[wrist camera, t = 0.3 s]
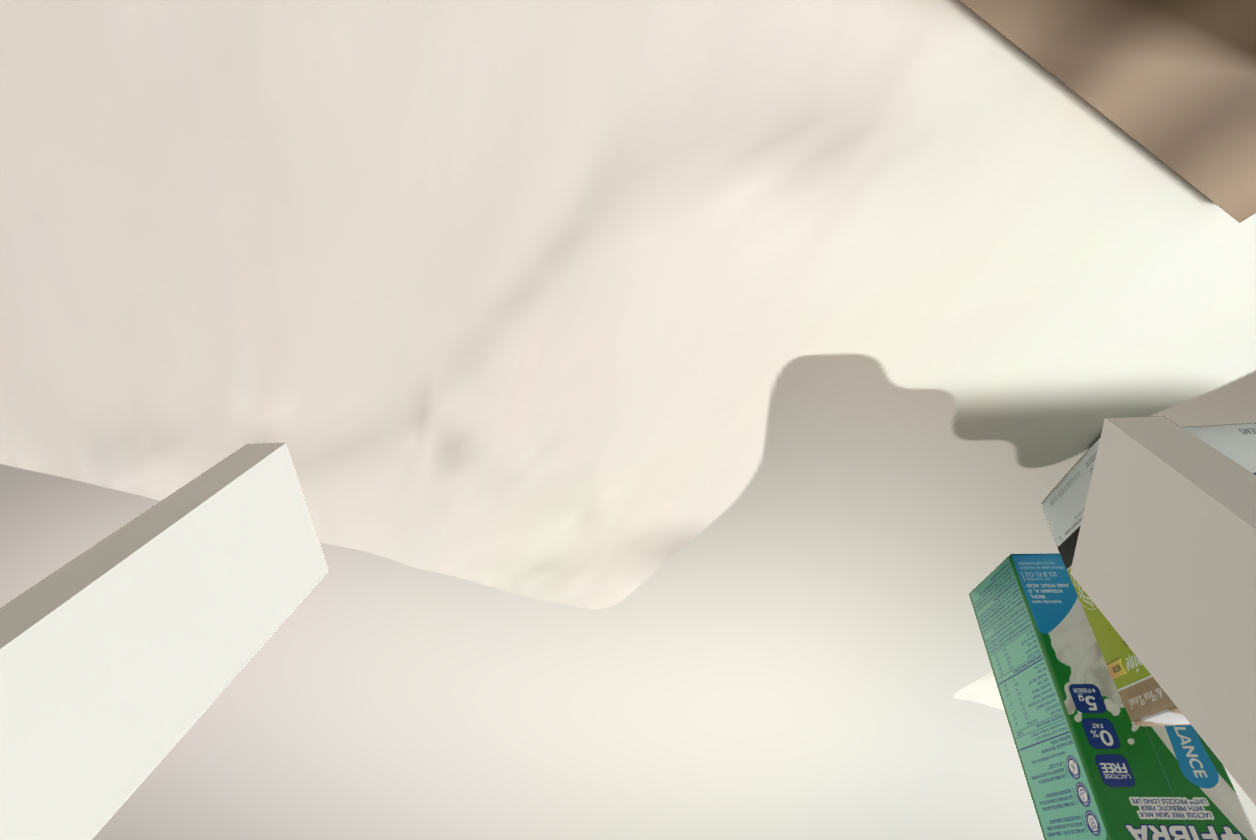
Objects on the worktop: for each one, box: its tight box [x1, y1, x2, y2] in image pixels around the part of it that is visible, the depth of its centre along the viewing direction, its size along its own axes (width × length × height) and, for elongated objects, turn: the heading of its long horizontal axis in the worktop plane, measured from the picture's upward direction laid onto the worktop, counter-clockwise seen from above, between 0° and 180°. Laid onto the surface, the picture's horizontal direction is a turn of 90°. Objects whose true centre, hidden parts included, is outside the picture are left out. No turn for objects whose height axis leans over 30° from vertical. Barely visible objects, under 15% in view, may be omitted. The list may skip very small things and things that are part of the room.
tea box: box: [1042, 423, 1256, 726], centre depth 37 cm, size 15×10×15 cm, turn 96°
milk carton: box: [969, 554, 1256, 840], centre depth 49 cm, size 9×9×25 cm
